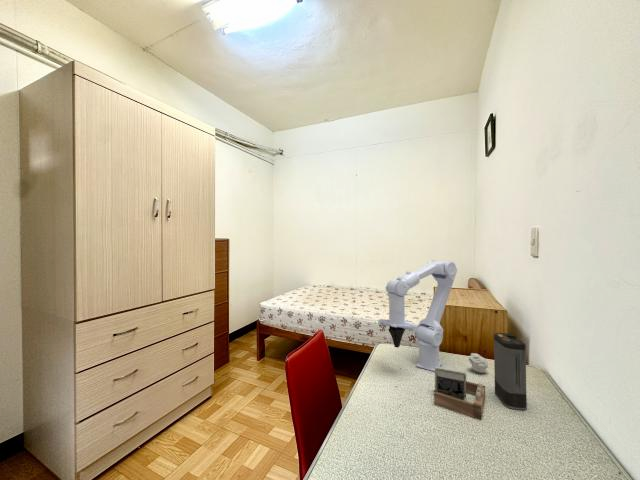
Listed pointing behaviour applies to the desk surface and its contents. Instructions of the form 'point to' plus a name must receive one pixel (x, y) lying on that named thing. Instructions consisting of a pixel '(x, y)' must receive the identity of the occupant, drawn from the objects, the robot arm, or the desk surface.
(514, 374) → the electronic device
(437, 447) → the desk surface
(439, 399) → the socket dock
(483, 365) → the grey rounded carved piece
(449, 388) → the electrical switch
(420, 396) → the desk surface
